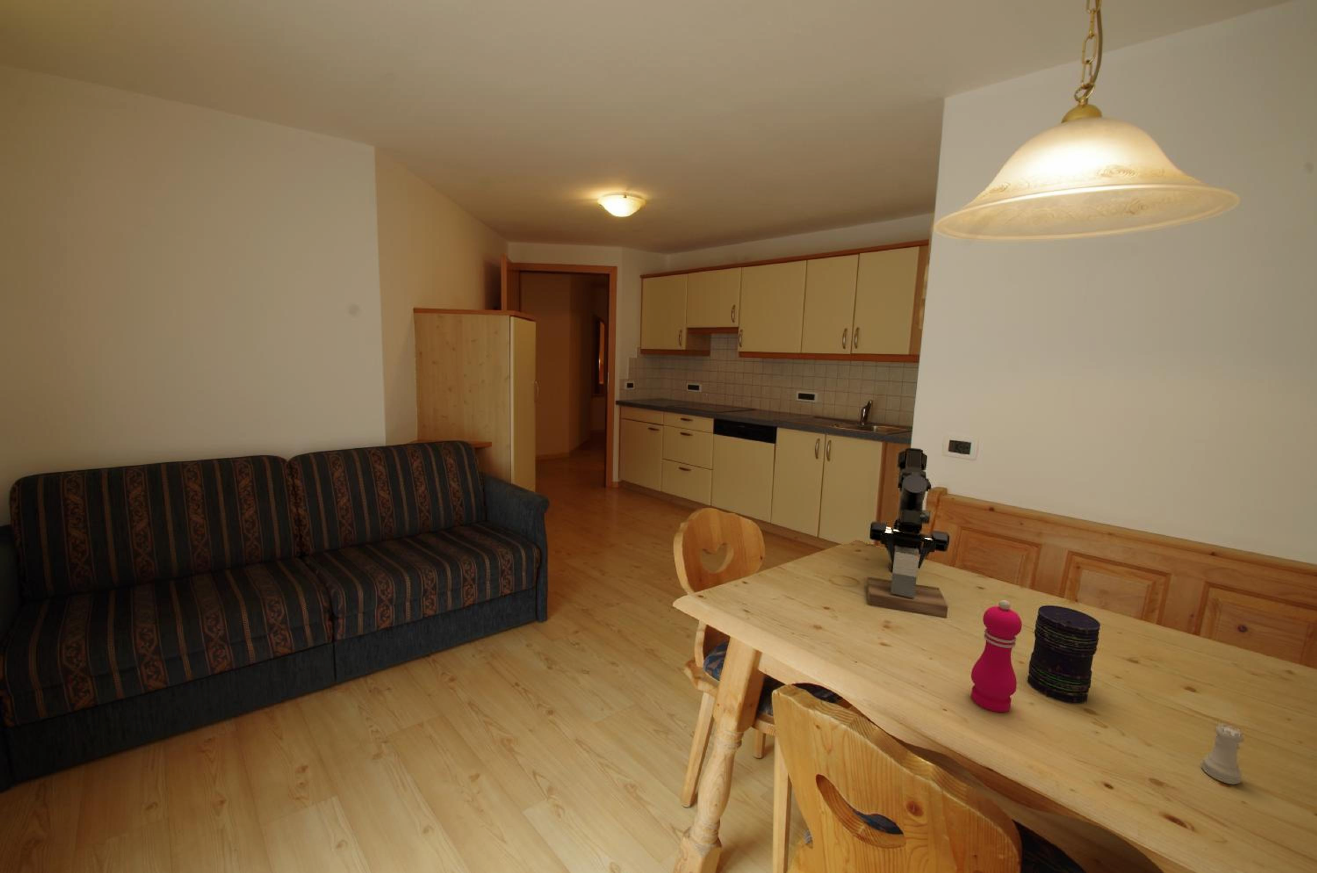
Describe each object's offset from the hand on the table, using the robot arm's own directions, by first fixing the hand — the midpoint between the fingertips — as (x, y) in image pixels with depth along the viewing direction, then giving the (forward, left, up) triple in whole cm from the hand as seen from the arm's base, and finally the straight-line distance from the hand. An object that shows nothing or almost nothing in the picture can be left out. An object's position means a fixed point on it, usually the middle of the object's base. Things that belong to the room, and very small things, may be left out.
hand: (905, 565), depth 140 cm
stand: (-3, +1, -11) cm, 12 cm away
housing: (-1, 0, -7) cm, 8 cm away
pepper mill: (+38, +11, -11) cm, 41 cm away
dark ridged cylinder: (+28, +25, -11) cm, 39 cm away
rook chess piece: (+46, +41, -11) cm, 62 cm away
